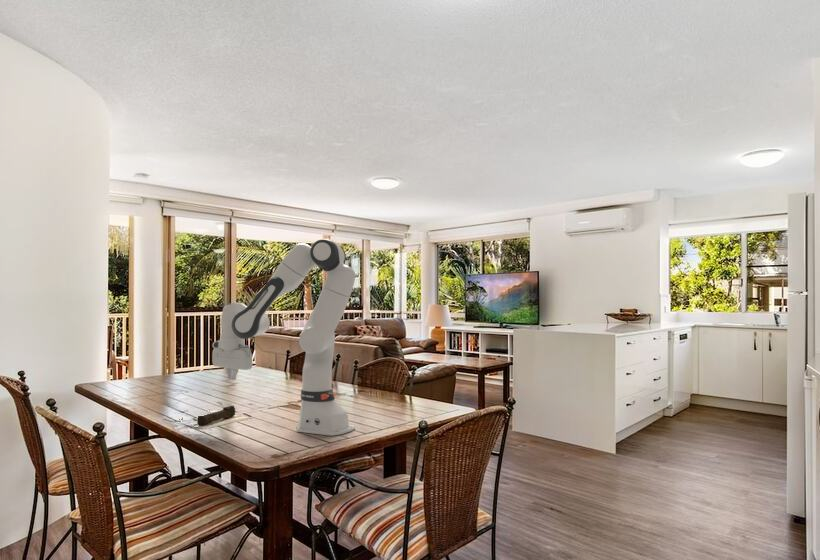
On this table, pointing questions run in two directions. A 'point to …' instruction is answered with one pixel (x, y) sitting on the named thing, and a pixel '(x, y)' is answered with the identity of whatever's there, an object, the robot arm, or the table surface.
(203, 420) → the hand tool
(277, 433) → the table surface
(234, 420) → the sheet
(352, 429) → the robot arm
